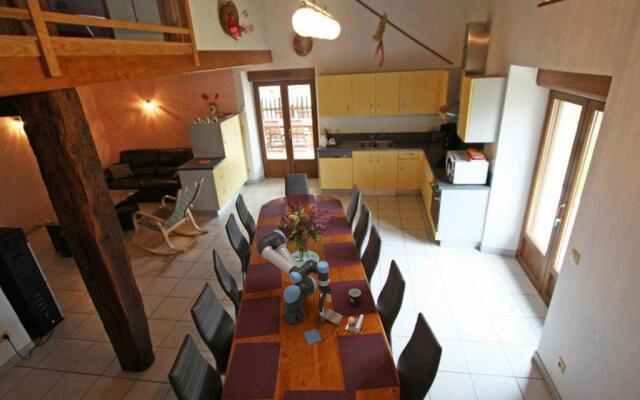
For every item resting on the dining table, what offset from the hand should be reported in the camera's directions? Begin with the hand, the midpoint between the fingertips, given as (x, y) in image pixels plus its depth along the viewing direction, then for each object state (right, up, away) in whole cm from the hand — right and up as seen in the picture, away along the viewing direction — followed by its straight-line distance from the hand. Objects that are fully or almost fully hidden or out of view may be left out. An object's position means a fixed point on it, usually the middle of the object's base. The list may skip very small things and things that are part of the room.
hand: (325, 308), depth 231 cm
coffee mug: (+23, -2, +14) cm, 27 cm away
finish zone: (+19, -10, -4) cm, 22 cm away
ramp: (+4, -8, +2) cm, 10 cm away
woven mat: (-9, -16, -11) cm, 22 cm away
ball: (+18, -7, -4) cm, 19 cm away
